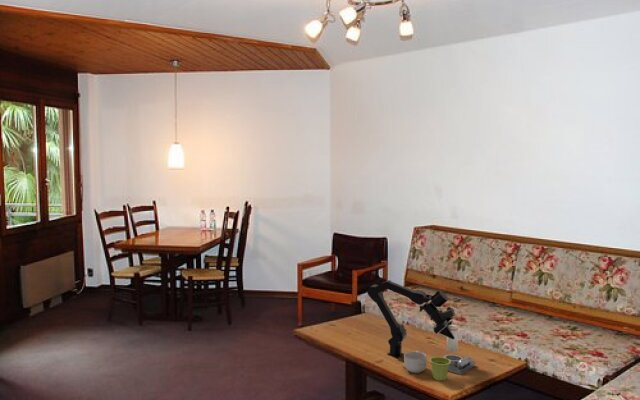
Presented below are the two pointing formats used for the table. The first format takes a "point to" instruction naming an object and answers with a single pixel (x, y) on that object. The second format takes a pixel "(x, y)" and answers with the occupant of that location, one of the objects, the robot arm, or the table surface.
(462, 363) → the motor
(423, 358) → the teacup
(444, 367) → the plant pot
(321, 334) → the table surface
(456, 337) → the white tall cylinder
